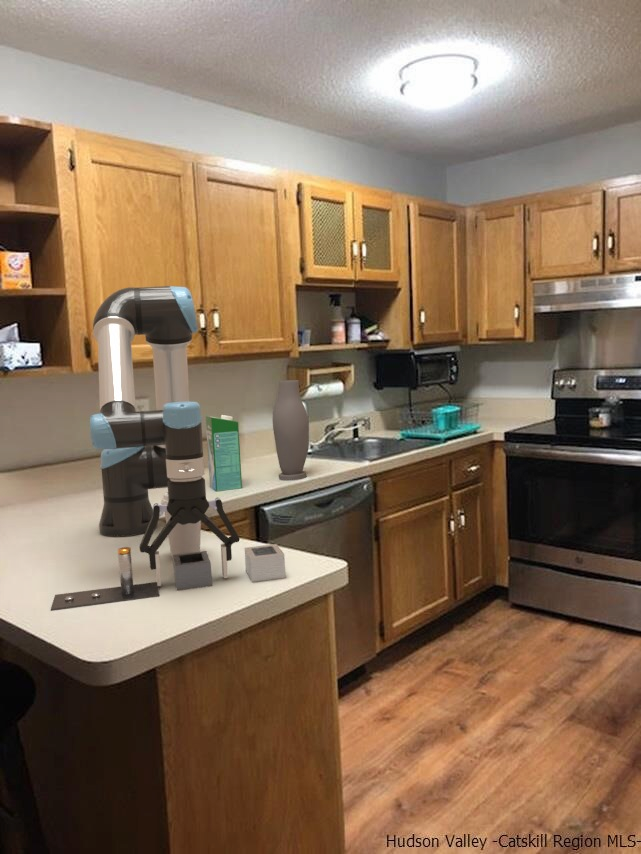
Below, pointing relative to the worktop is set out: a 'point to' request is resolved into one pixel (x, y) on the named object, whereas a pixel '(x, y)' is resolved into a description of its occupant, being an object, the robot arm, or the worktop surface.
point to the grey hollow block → (192, 570)
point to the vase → (290, 431)
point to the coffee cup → (183, 535)
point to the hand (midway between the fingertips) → (192, 580)
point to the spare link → (265, 562)
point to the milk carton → (223, 453)
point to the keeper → (109, 589)
